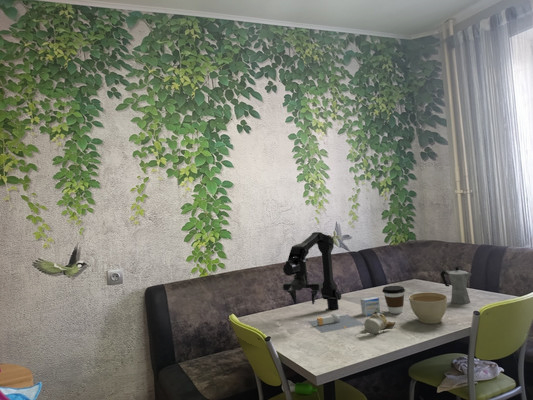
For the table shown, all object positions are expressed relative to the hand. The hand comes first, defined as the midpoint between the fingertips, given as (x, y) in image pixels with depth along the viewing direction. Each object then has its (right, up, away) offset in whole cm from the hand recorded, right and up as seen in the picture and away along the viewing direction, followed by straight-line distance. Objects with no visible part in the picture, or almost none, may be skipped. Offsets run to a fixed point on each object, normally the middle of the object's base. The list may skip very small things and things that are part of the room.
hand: (304, 303), depth 190 cm
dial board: (+14, -9, -5) cm, 18 cm away
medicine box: (+34, -7, +5) cm, 35 cm away
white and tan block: (+11, -8, -4) cm, 14 cm away
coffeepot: (+81, -2, +13) cm, 82 cm away
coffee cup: (+46, -6, +7) cm, 47 cm away
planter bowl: (+56, -5, -12) cm, 57 cm away
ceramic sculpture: (+31, -8, -17) cm, 36 cm away
